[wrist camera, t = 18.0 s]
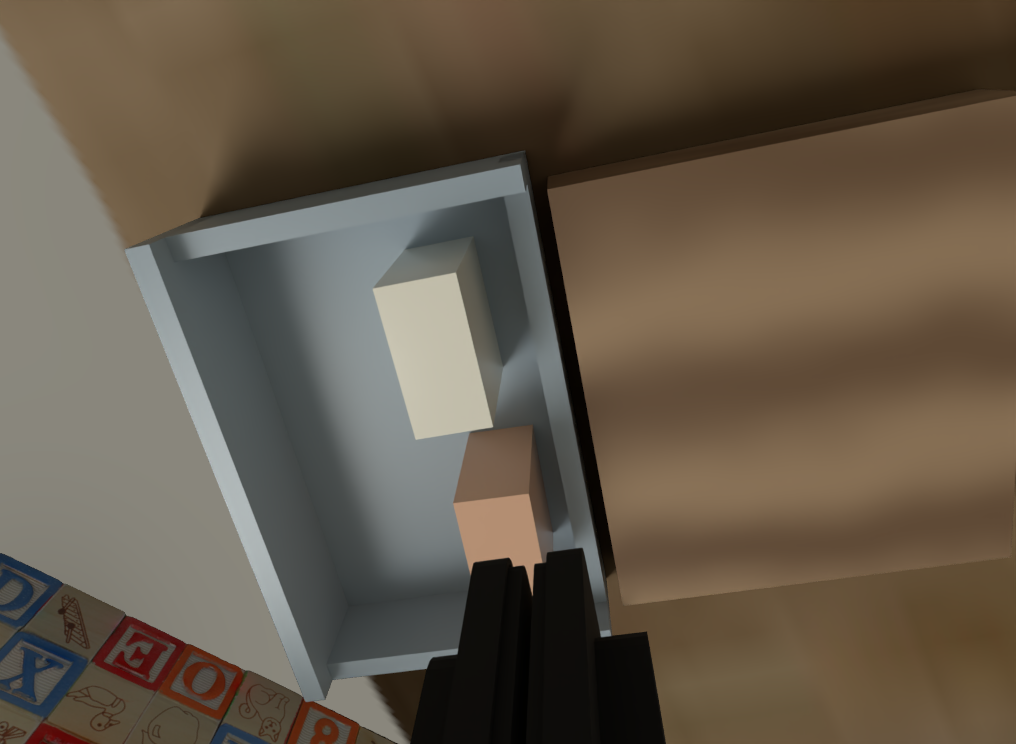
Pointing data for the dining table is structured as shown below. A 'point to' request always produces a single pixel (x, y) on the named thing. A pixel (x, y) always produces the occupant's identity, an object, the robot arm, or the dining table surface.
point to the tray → (359, 405)
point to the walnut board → (801, 347)
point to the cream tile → (441, 337)
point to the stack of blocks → (133, 680)
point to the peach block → (503, 499)
